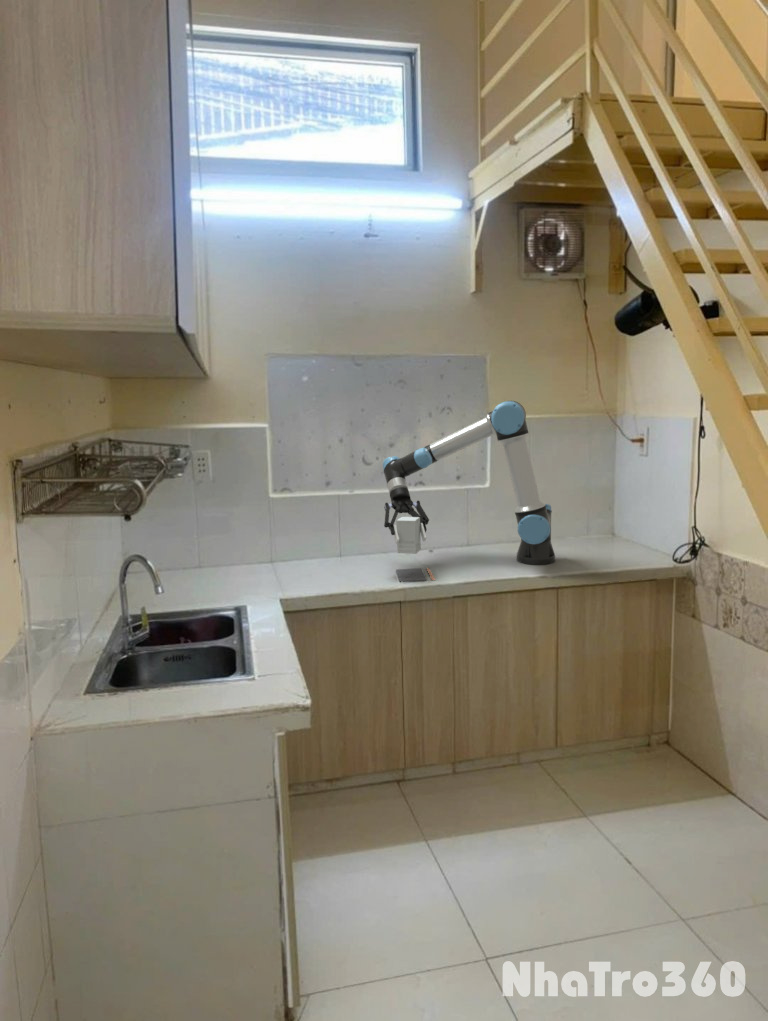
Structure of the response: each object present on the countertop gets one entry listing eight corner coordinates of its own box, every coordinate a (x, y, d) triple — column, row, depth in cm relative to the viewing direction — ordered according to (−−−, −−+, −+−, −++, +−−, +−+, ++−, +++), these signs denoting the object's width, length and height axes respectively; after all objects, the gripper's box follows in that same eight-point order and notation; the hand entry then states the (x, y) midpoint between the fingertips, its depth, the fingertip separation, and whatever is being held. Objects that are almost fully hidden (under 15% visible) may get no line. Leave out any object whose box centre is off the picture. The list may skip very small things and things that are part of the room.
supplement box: (421, 549, 259) (420, 516, 257) (415, 554, 252) (415, 520, 250) (402, 548, 262) (402, 516, 259) (396, 553, 255) (396, 519, 252)
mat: (421, 569, 267) (421, 568, 266) (426, 580, 251) (426, 579, 251) (395, 570, 266) (395, 569, 266) (399, 582, 250) (399, 580, 250)
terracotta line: (429, 569, 267) (429, 568, 267) (435, 580, 251) (435, 579, 251) (426, 569, 267) (426, 568, 267) (432, 580, 251) (432, 579, 251)
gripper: (424, 496, 271) (437, 543, 259) (369, 499, 266) (380, 548, 253) (428, 484, 265) (442, 532, 253) (372, 487, 260) (383, 537, 247)
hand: (411, 540), depth 253 cm, fingers closed on supplement box, 10 cm apart
